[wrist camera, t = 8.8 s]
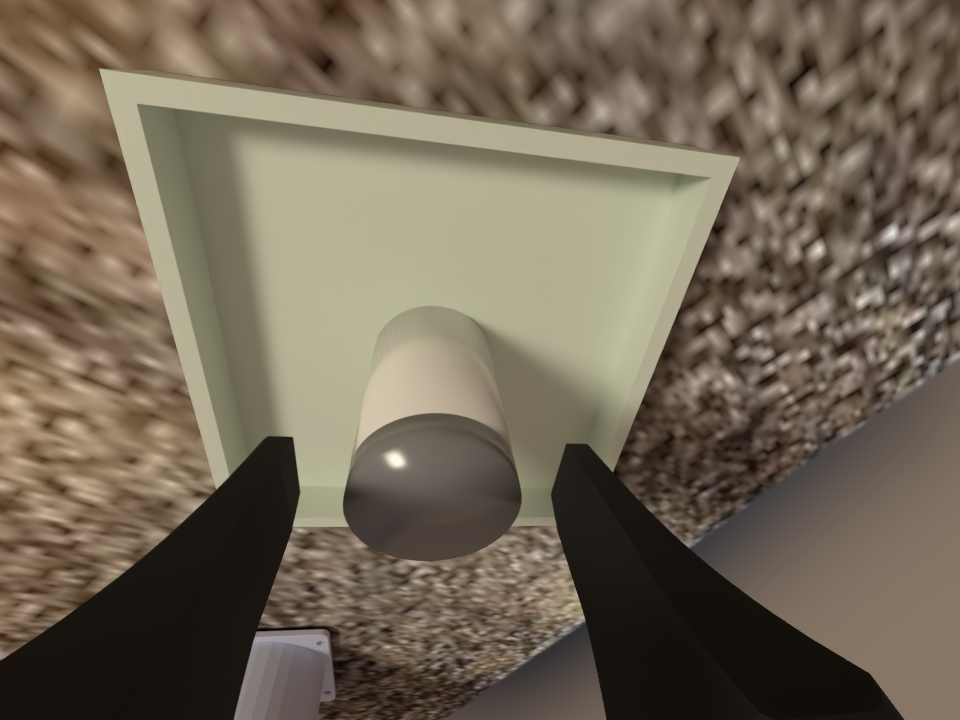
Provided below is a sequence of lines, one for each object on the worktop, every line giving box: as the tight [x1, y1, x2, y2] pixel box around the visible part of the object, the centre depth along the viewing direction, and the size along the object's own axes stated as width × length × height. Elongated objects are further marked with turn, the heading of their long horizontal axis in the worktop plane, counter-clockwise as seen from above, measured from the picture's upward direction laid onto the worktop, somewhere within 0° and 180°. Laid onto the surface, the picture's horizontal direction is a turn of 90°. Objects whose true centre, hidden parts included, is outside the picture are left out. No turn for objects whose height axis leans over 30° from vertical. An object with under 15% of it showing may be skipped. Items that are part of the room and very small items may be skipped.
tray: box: [99, 69, 740, 527], centre depth 16 cm, size 16×16×2 cm
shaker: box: [343, 306, 522, 561], centre depth 14 cm, size 4×4×7 cm
